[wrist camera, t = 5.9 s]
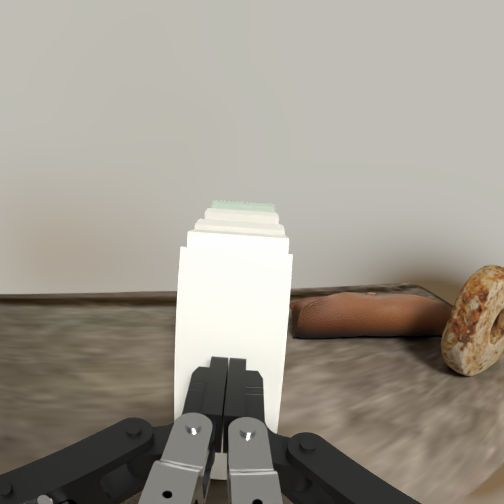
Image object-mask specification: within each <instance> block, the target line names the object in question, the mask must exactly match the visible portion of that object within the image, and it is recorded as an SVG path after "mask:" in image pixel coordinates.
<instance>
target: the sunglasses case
mask: <svg viewBox="0 0 504 504" xmlns="http://www.w3.org/2000/svg"><path fill="white" fill-rule="evenodd" d="M290 308H291V309H292V318H293V325H294V333H295V337H294V338H296V337H299V338H329V337H331V338H337V337H342V336H345V337H354V336H362V335H367V336H400V335H405V336H423V335H443V332H444V330H445V328H446V325H447V322H448V320H449V319H450V315H451V311H452V308H451V307H450V306H449V305H447V304H445V303H442V302H440V301H437V300H434V299H431V298H426V297H422V296H416V295H408V294H376V293H372V292H368V293H366V294H362V293H355V292H353V293H351V292H343V293H338V294H333V295H330V296H326V297H312V298H305V299H301V300H298V301H294V302H291V304H290ZM294 338H293V339H294Z"/></svg>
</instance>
